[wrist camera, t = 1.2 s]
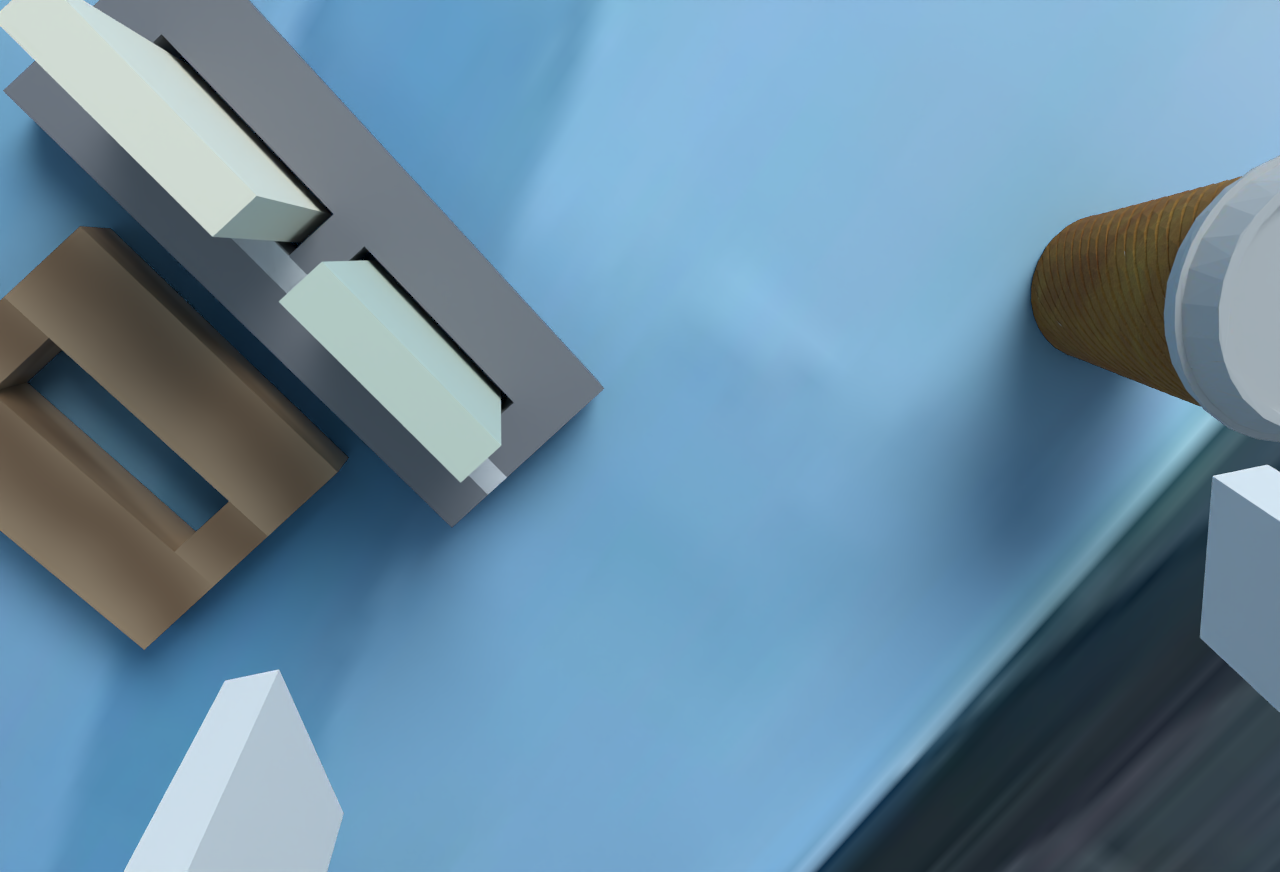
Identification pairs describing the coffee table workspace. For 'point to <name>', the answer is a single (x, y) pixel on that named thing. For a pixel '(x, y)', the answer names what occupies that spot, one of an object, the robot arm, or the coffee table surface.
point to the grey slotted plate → (328, 239)
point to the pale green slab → (167, 121)
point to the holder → (170, 407)
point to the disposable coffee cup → (1177, 296)
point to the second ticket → (402, 360)
